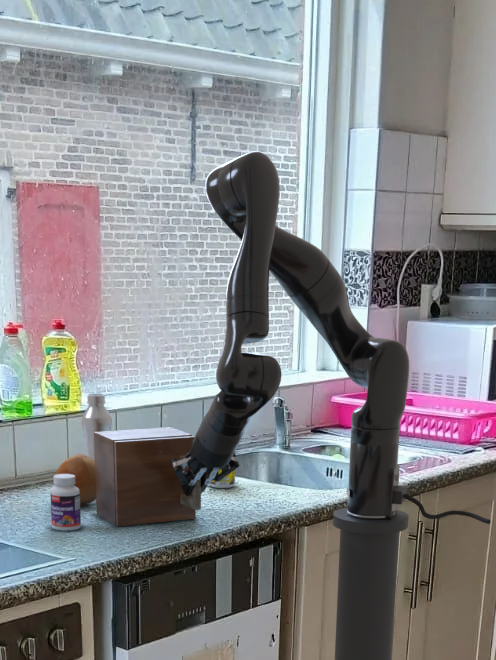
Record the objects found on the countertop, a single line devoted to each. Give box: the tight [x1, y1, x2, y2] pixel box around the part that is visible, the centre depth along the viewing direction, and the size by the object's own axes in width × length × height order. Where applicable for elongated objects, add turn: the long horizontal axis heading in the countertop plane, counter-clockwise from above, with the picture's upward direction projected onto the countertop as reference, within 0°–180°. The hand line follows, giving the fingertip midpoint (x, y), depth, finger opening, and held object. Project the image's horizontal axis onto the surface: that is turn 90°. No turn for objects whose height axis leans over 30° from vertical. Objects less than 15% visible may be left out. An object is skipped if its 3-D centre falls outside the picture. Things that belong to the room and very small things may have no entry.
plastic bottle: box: [81, 392, 113, 461], centre depth 252 cm, size 6×7×20 cm
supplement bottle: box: [209, 451, 236, 489], centre depth 260 cm, size 6×6×10 cm
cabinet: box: [94, 426, 193, 527], centre depth 231 cm, size 10×16×16 cm, turn 118°
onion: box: [54, 453, 96, 507], centre depth 240 cm, size 10×10×10 cm
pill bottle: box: [49, 474, 82, 532], centre depth 222 cm, size 5×5×10 cm
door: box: [114, 435, 202, 527], centre depth 223 cm, size 8×16×16 cm, turn 117°
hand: (191, 491), depth 225 cm, fingers closed on door
